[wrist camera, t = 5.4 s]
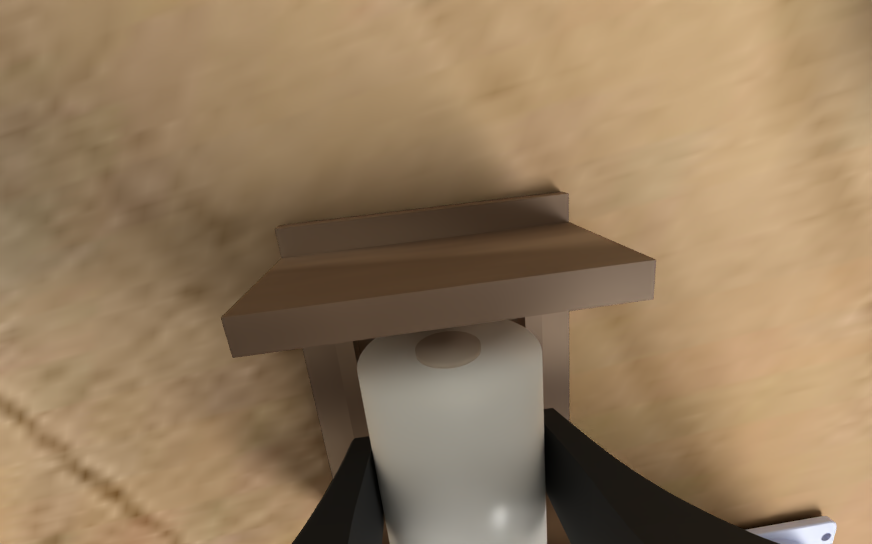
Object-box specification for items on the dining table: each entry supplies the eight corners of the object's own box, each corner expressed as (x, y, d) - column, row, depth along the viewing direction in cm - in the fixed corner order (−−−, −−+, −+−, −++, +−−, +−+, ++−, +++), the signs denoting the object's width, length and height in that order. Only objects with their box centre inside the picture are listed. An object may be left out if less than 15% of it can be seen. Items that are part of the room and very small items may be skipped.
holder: (564, 494, 19) (631, 632, 13) (349, 530, 18) (330, 689, 13) (561, 191, 14) (658, 217, 9) (279, 225, 14) (208, 274, 9)
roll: (523, 474, 16) (572, 616, 11) (395, 490, 16) (389, 643, 11) (514, 301, 13) (572, 386, 9) (366, 319, 13) (342, 416, 9)
